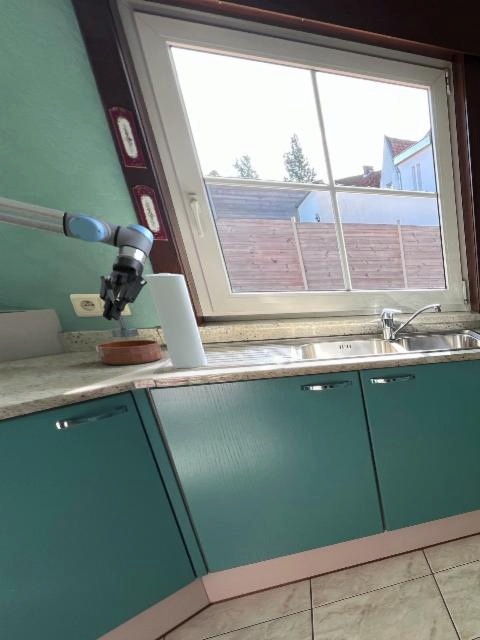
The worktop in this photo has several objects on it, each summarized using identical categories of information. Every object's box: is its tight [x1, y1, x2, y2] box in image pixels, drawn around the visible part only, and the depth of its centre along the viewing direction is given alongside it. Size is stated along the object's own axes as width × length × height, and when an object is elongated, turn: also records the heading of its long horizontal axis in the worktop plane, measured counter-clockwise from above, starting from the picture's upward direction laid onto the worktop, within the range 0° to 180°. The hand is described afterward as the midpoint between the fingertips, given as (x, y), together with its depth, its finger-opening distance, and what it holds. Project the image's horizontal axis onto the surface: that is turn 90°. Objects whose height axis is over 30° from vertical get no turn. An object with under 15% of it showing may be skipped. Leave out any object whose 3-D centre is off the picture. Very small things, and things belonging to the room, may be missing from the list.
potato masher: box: [104, 280, 140, 338], centre depth 166 cm, size 7×7×18 cm
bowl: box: [95, 339, 164, 366], centre depth 172 cm, size 16×16×6 cm
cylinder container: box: [145, 272, 208, 369], centre depth 163 cm, size 9×9×30 cm
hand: (110, 317), depth 164 cm, fingers closed on potato masher
